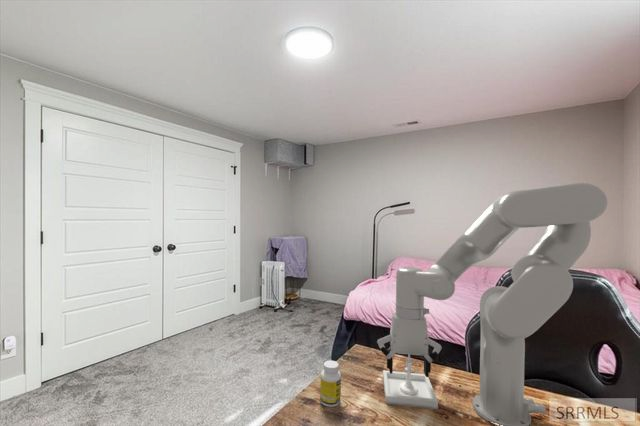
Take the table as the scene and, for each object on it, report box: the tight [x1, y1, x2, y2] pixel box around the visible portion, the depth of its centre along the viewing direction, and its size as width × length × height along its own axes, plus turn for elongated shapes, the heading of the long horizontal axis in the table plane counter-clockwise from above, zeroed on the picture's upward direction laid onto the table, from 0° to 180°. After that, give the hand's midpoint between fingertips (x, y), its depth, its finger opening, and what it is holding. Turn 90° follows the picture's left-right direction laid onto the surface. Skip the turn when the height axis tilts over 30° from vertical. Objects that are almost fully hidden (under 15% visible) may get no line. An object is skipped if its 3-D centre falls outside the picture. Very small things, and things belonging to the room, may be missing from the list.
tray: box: [382, 369, 439, 410], centre depth 83 cm, size 13×13×2 cm
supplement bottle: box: [319, 360, 342, 408], centre depth 78 cm, size 5×5×10 cm
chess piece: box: [399, 354, 418, 395], centre depth 83 cm, size 5×5×10 cm
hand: (408, 372), depth 83 cm, fingers open, 9 cm apart
